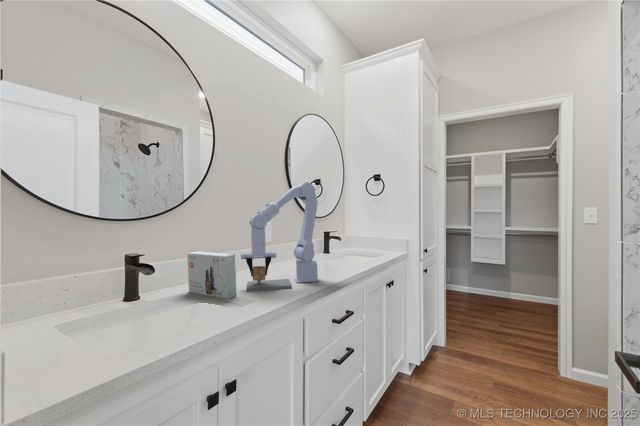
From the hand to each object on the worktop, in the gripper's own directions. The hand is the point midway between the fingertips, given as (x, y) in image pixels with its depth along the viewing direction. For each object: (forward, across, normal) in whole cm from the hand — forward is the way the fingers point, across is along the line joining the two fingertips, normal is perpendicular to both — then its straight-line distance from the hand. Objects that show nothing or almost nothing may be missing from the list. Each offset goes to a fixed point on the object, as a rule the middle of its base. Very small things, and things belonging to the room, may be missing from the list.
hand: (259, 275), depth 122 cm
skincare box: (+5, -18, -6) cm, 20 cm away
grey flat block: (+5, +4, 0) cm, 6 cm away
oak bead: (+1, 0, 0) cm, 1 cm away
